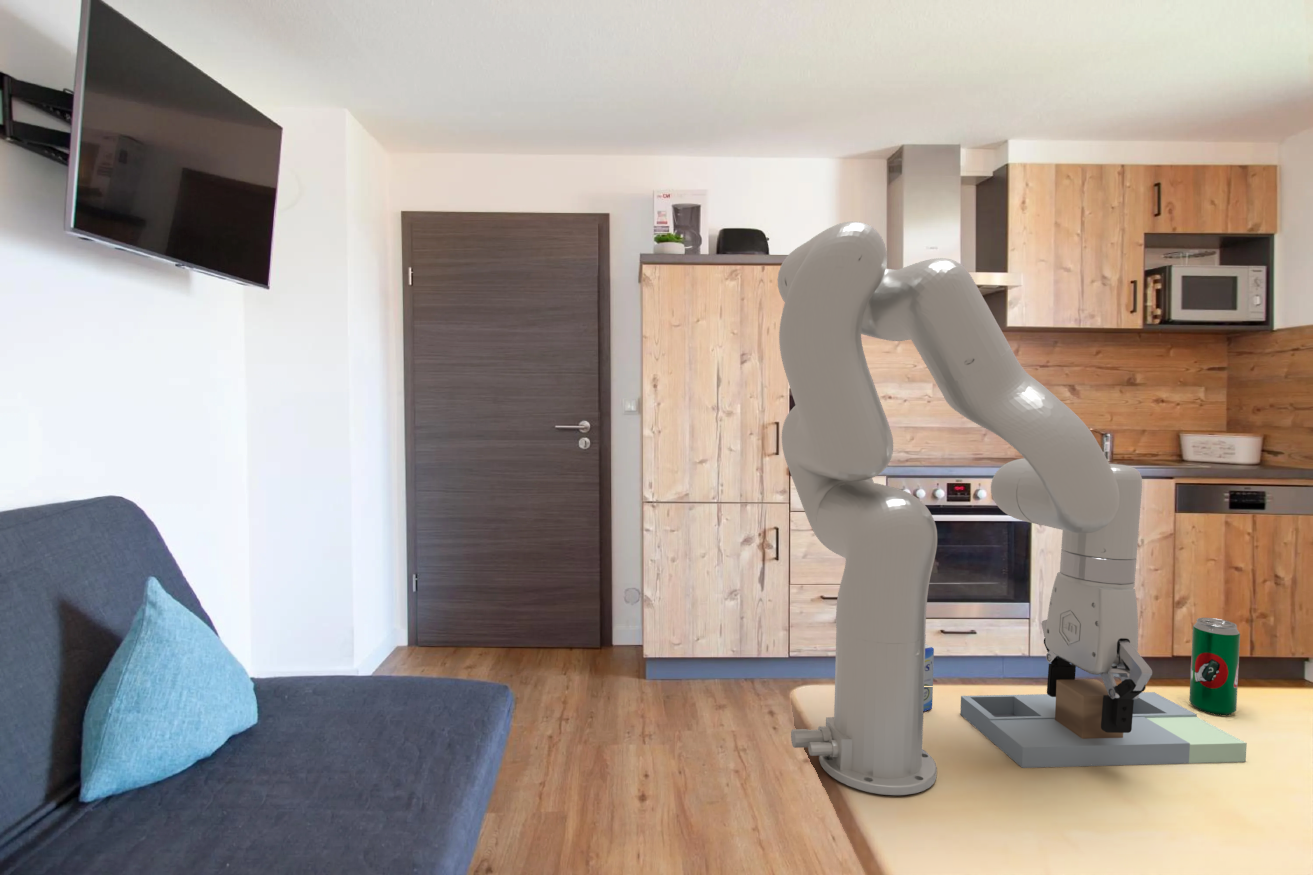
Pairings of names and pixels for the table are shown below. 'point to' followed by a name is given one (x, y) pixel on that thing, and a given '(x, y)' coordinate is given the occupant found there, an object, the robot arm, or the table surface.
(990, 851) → the table surface
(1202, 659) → the soda can
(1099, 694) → the block
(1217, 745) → the box
